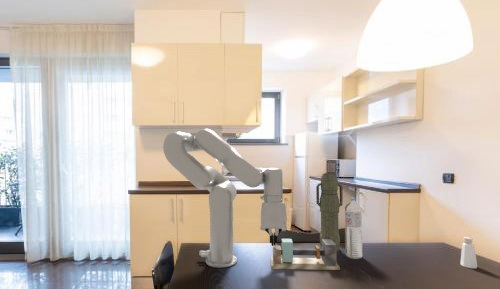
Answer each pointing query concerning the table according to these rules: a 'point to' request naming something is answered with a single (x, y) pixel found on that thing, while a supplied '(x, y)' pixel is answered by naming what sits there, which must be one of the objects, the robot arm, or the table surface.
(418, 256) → the table surface
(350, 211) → the water bottle
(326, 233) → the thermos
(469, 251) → the salt shaker
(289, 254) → the mint green boxy block
